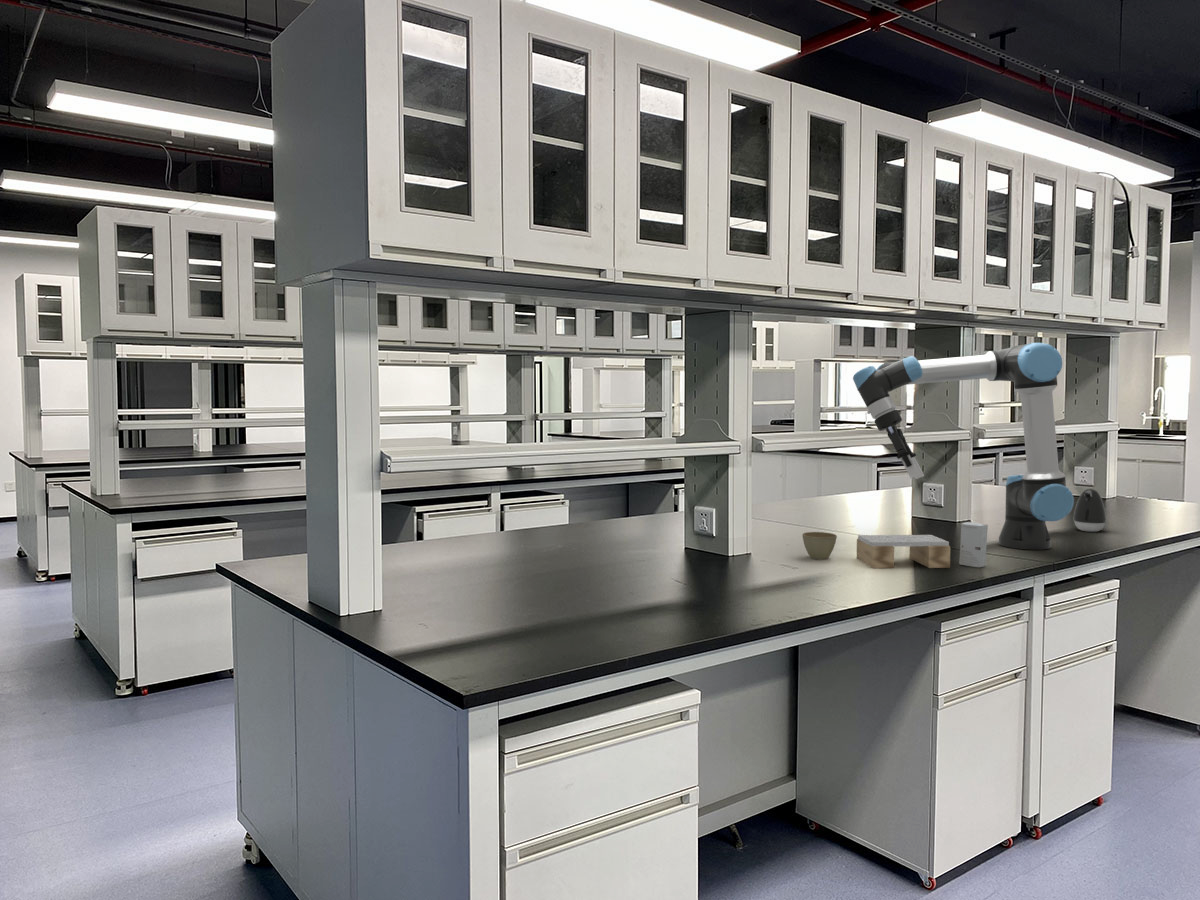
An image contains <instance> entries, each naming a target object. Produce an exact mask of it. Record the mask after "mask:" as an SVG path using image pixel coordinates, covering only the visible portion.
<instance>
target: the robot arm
mask: <svg viewBox="0 0 1200 900" xmlns="http://www.w3.org/2000/svg"><path fill="white" fill-rule="evenodd" d="M1062 368H1063V358H1062V355H1061V354H1060V351H1059V350H1058V349H1057V348H1055V347H1054V346H1053V345H1051V344H1049V343H1045V342H1032V343H1026V344H1019V345H1014V346H1011V347H1007V348H1003V349H998V350H997V349H996V350H989V351H987V352H986V353H985V354H979V355H969V356H968V355H967V356H956V357H955V356H954V357H953V356H952V357H944V358H932V359H931V358H930V359H929V358H928V359H922V360H921V359H920V360H918V359H917V358H916V357H915V356H912V355H910V356H907V357H904V358H902V359H900V360H898V361H893V362H884V363H882V364H880V365H879V366H878V367H877V368H876V367H875V366H873V365H870V366H867V367H864V368H861V369H860V370H858V371H857V372H855V374H853V377H852V380H853V383H854V385H855V387H856V390H857V392H858V393H859V395H860V397H861V398H862V400H863V402H864V404H865V406H866V408H867V411H866V412H867V414H868V415H870V416H871V418H872V419H874V424H875V426H876V428H877V429H878V431H879V432H883V431H886V433H887V434H886V435H887V437H888V438H889V440H890V441H891V443H892V445H893V447H894V449H895V451H896V454H897V455H896V458H897V460H899V459H900V461H901V463H902V464H903V466H904V469H905V470H906V473H907V474H908V477H909V478H910V479H913V478H914V479H915V480H918V479H920V478H922V477H925V475H924V473H923V470H922V469H921V467H920V465H919V462H918V461H917V459H916V457H917V454H916V453H914V452H913V451H912V449H911V448H910V446H909V444H908V442H907V439H906V437H905V435H904V433H903V431H902V429H901V428H898V427H897V425H898V424H901V422H902V421H903V418H902V416H901V415H900V412H899V411H898V410H897V409H896V408H897V407H896V405H895V402H894V401H893V399H892V397H891V396H890V394H889V393H890V392H892V391H894V390H897V389H898V388H901V387H904V386H906V385H907V386H908V385H917V384H919V385H921V384H931V383H932V384H933V383H943V382H945V383H946V382H956V381H957V382H958V381H970V380H982V379H983V380H984V379H986V380H987V381H989V382H998V381H999V382H1000V381H1002V382H1013V386H1014V388H1013V389H1014V391H1016V392H1017V393H1018V394H1019V395H1020V401H1021V413H1022V425H1023V426H1022V427H1023V437H1024V439H1023V440H1024V447H1025V449H1024V450H1025V459H1026V460H1025V461H1026V470H1027V471H1026V472H1025V474H1014V475H1009V476H1008V477H1007V478H1006V483H1005V517H1004V519H1005V521H1004V524H1003V526H1002V528H1001V531H1000V533H999V536H998V545H1000V546H1002V547H1006V548H1011V549H1018V550H1019V549H1020V550H1036V551H1037V550H1049V549H1051V548H1052V540H1051V536H1050V533H1049V530H1048V526H1047V524H1046V522H1057V521H1061V520H1063V519H1064V518H1066V517H1067V516H1068V515H1069V514H1070V513H1071V512H1072V510H1073V508H1074V504H1075V498H1074V495H1073V493H1072V491H1071V490H1070V489H1069V487H1067V483H1066V482H1067V481H1066V475H1065V473H1064V472H1062V471H1061V470H1060V469H1059V468H1060V467H1059V466H1060V465H1059V459H1058V458H1059V456H1058V444H1057V434H1056V433H1057V431H1056V421H1055V409H1054V396H1053V391H1054V390H1055V389H1056V388H1057V386H1058V375H1059V374H1060V372H1061V371H1062Z"/></svg>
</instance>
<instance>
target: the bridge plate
mask: <svg viewBox="0 0 1200 900" xmlns="http://www.w3.org/2000/svg"><path fill="white" fill-rule="evenodd" d="M857 539H859V540H860V541H862V542H864V543H866V544H868V545H870V546H872V547H877V546H893V547H910V546H950V542H949V541H947V540H945V539H943V538H940V537H937V536H935V535H933V534H888V535H887V534H871V535H870V534H869V535H868V534H862V535H861V534H858V536H857Z"/></svg>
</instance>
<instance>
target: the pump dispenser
mask: <svg viewBox="0 0 1200 900" xmlns="http://www.w3.org/2000/svg"><path fill="white" fill-rule="evenodd" d="M1072 519H1073V522H1074V525H1075V526H1076V529H1078V530H1080V531H1082V532H1088V533H1089V532H1090V533H1096V532H1099V531H1101V530H1102V529H1103V528H1104V527H1105V524H1106V523H1107V515H1106V508H1105V506H1104V501H1103V498H1102V497H1101V494H1100V493H1099V491H1097V489H1094V488H1086V489H1085V490H1083V491H1082V493H1081V494H1080V495H1079V497H1078V499H1077V501H1076V505H1075V508H1074V512H1073V518H1072Z"/></svg>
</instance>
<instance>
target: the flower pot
mask: <svg viewBox="0 0 1200 900" xmlns="http://www.w3.org/2000/svg"><path fill="white" fill-rule="evenodd" d="M837 537H838V536H837V534H836V533H831V532H826V531H825V532H824V531H807V532H803V533H802V541H803V545H804V548H805V550H806V552H807V555H808V557H809V558H810V559H813V560H819V561H820V560H823V561H824V560H828V558H829V557H830V556H831V554H832V552H833V550H834V549H835V545H836V542H837Z"/></svg>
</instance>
